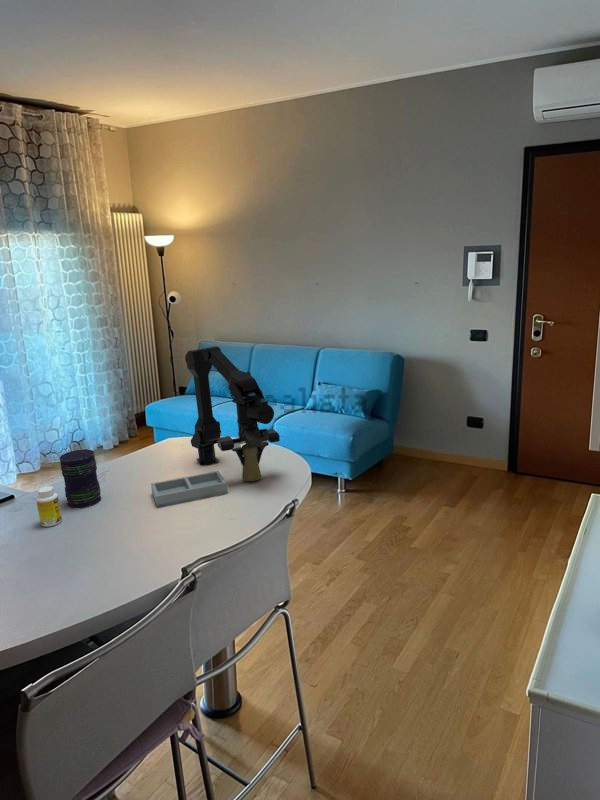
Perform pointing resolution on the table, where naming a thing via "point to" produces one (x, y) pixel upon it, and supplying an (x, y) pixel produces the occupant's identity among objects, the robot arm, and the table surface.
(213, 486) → the caddy
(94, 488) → the storage jar
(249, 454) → the olive rounded piece
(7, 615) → the table surface
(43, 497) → the supplement bottle
